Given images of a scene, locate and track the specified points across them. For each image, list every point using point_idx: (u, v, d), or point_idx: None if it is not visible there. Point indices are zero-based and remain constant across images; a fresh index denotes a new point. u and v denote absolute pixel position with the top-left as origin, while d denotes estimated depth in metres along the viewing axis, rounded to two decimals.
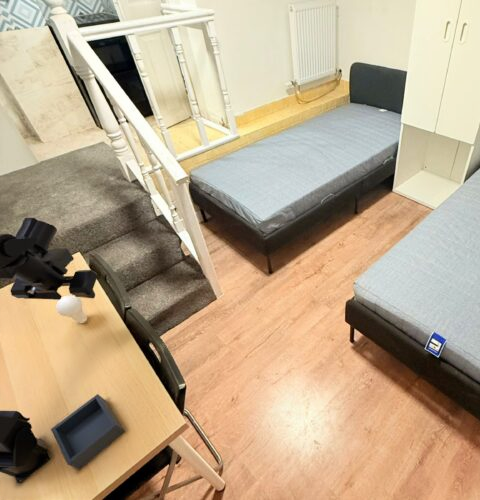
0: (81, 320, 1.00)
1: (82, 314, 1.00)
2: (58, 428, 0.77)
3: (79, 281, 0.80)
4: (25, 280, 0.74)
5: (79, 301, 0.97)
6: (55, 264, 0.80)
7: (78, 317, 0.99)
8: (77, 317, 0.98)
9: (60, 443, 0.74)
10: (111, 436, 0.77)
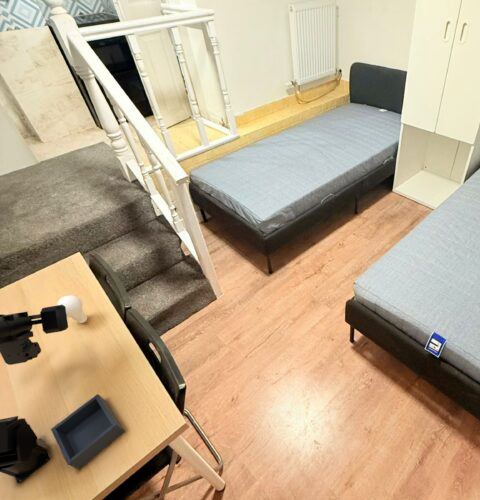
0: (81, 320, 1.00)
1: (82, 314, 1.00)
2: (58, 428, 0.77)
3: None
4: None
5: (79, 301, 0.97)
6: None
7: (78, 317, 0.99)
8: (77, 317, 0.98)
9: (60, 443, 0.74)
10: (111, 436, 0.77)
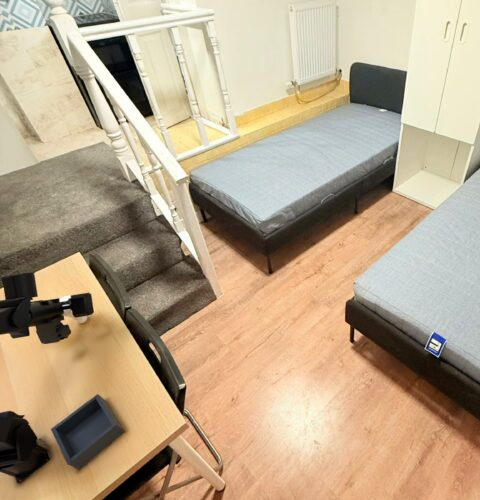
0: (81, 320, 1.00)
1: None
2: (58, 428, 0.77)
3: None
4: (35, 325, 0.83)
5: None
6: None
7: (78, 317, 0.99)
8: (77, 317, 0.98)
9: (60, 443, 0.74)
10: (111, 436, 0.77)
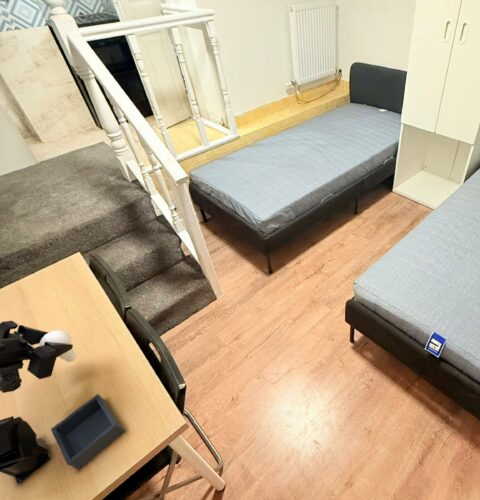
0: (66, 360, 0.85)
1: (67, 355, 0.84)
2: (58, 428, 0.77)
3: None
4: None
5: None
6: None
7: (62, 357, 0.83)
8: (60, 357, 0.83)
9: (60, 443, 0.74)
10: (111, 436, 0.77)
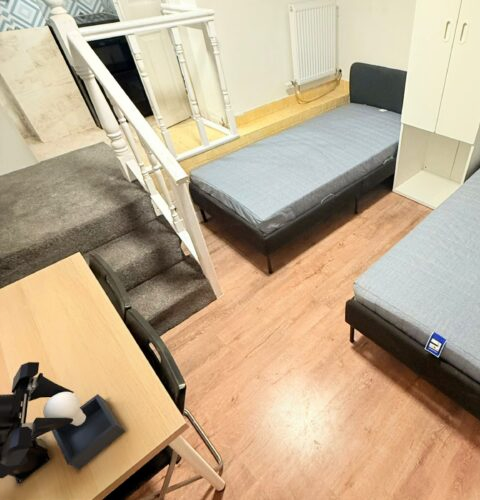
0: None
1: None
2: (58, 428, 0.77)
3: (17, 375, 0.69)
4: None
5: (62, 417, 0.68)
6: None
7: None
8: None
9: (60, 443, 0.74)
10: (111, 436, 0.77)
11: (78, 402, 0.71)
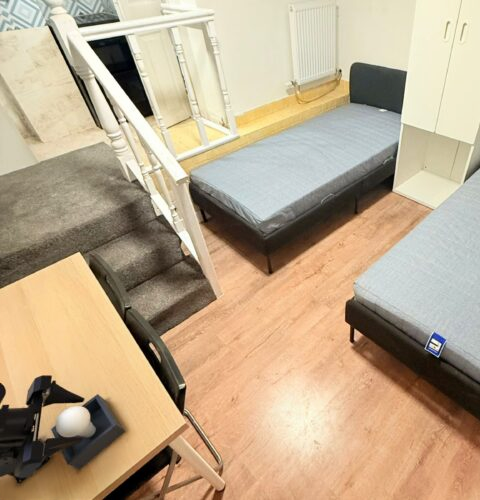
0: None
1: (81, 435, 0.75)
2: None
3: (31, 388, 0.72)
4: None
5: (73, 432, 0.71)
6: None
7: None
8: None
9: None
10: (111, 436, 0.77)
11: (88, 416, 0.74)
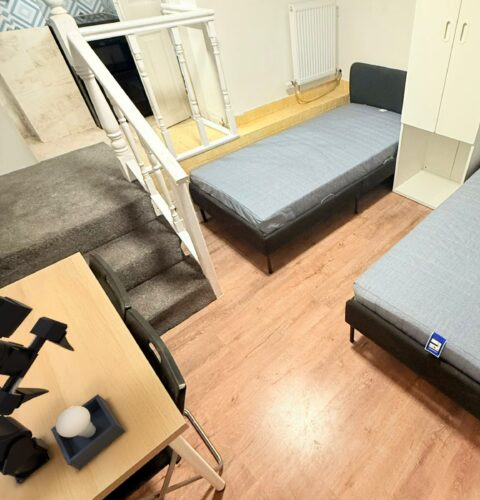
0: None
1: (81, 435, 0.75)
2: None
3: (44, 326, 0.70)
4: None
5: (73, 432, 0.71)
6: None
7: None
8: None
9: (60, 443, 0.74)
10: (111, 436, 0.77)
11: (88, 416, 0.74)
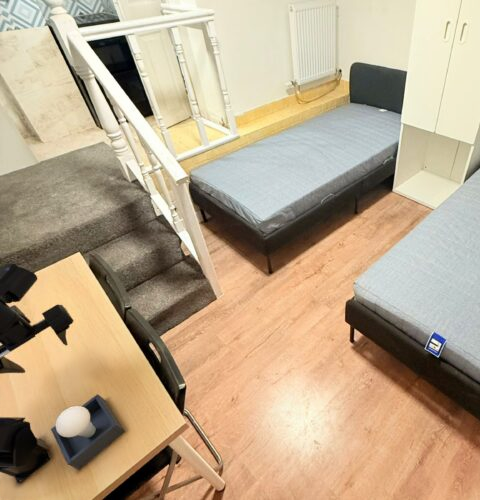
0: None
1: (81, 435, 0.75)
2: None
3: (55, 314, 0.76)
4: None
5: (73, 432, 0.71)
6: (17, 312, 0.73)
7: None
8: None
9: (60, 443, 0.74)
10: (111, 436, 0.77)
11: (88, 416, 0.74)
